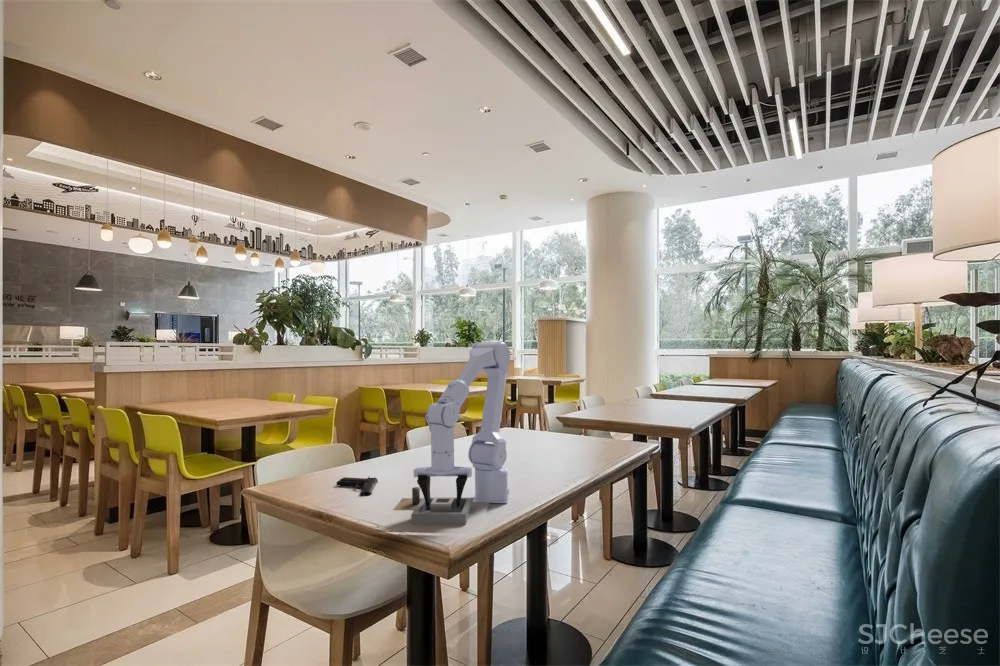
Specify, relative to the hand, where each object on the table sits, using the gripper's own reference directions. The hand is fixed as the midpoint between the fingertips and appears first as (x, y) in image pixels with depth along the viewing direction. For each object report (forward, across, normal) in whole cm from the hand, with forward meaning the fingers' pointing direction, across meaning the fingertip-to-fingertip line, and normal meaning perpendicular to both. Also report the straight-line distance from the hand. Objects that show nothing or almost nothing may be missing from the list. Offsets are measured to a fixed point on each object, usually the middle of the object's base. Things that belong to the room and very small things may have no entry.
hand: (443, 505), depth 124 cm
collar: (+2, 0, 0) cm, 2 cm away
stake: (+3, -9, +9) cm, 13 cm away
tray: (+3, 0, 0) cm, 3 cm away
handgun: (+4, -32, +25) cm, 40 cm away
